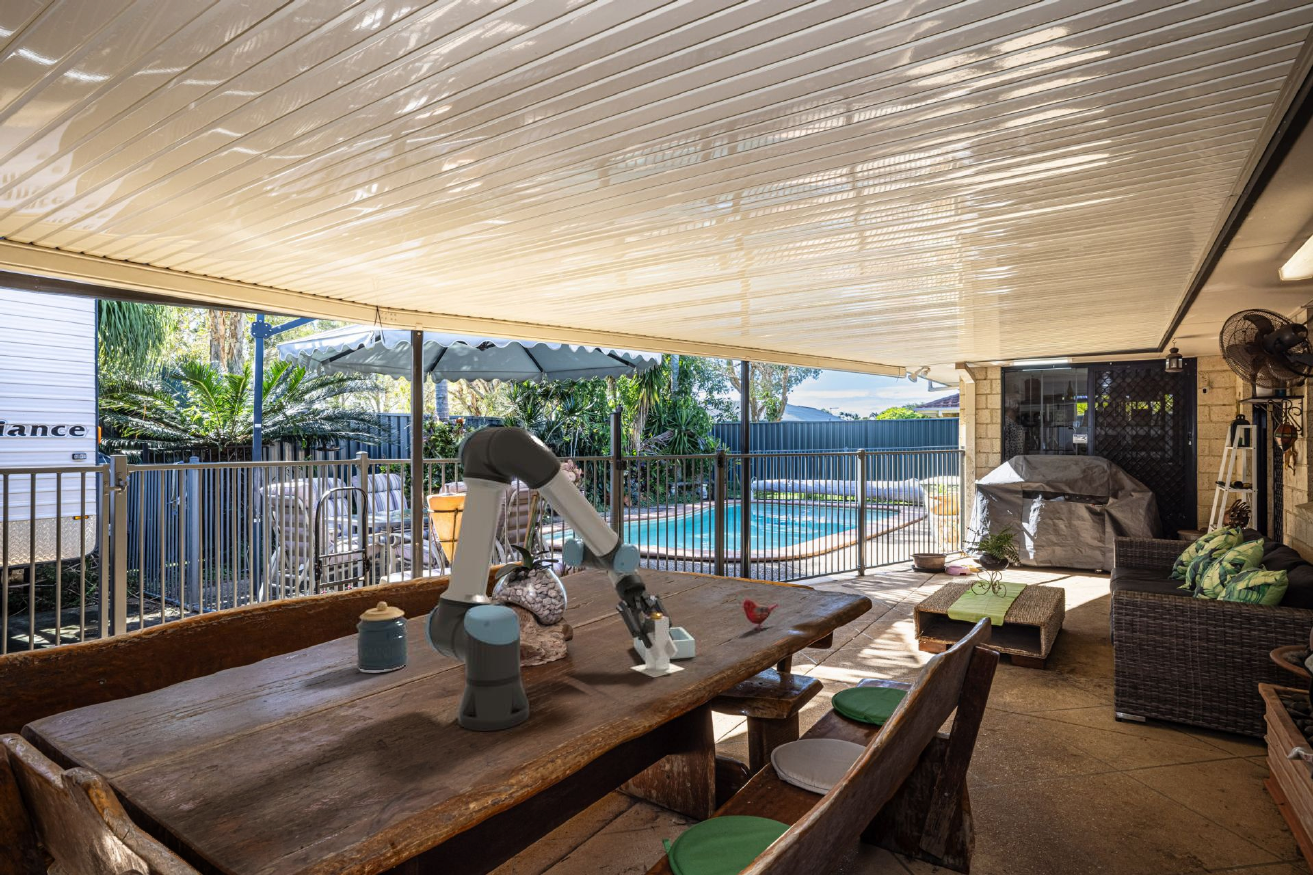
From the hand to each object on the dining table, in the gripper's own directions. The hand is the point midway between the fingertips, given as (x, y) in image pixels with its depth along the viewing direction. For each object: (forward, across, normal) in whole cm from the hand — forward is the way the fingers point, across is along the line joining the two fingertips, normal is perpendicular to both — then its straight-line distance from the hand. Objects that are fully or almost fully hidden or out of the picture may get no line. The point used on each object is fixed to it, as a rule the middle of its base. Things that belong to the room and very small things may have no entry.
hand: (666, 655), depth 183 cm
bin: (-6, -10, -14) cm, 19 cm away
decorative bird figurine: (-9, -53, -17) cm, 56 cm away
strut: (0, 0, -6) cm, 6 cm away
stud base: (+1, 0, -7) cm, 7 cm away
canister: (-37, +52, -45) cm, 78 cm away
